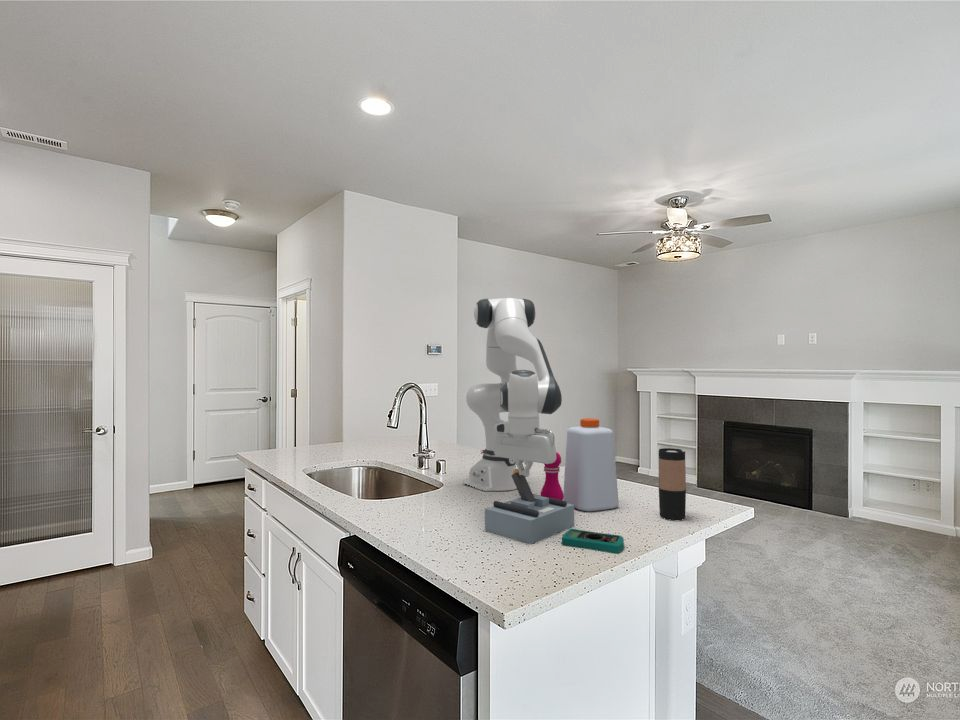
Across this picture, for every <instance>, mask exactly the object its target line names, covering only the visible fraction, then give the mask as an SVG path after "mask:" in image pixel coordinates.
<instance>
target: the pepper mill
mask: <svg viewBox="0 0 960 720" xmlns="http://www.w3.org/2000/svg"><path fill="white" fill-rule="evenodd" d="M561 463H562V456H561V455H560V453H558V452H557V451H556V460H555V462H554V463H551V464H543V465H544V466H543V472H545V478H544V479H545V480H544V483H543V485H542V488H541V491H540V496H544V497H549V498H554V499H559V500H563V497H564V496H563V492H564V490H563V488H562V486H561V484H560V480H559V473H560V472H561V470H560V468H561V467H560V465H561ZM563 501H564V500H563Z"/></svg>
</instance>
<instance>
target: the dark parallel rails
mask: <svg viewBox="0 0 960 720" xmlns="http://www.w3.org/2000/svg"><path fill="white" fill-rule="evenodd" d="M532 494H533V495H537V496H541V494H540V495H539V494H534V493H532ZM542 497H544V496H542ZM547 498H549V497H547ZM549 503H550V504H554V505H559V506H563V507H565V506H566V505H567V502H566V501H564V500H559V499H554V498H549ZM492 506H495V507H498V508H502V509H506V510H510V511H514V512H518V513H522V514H526V515H530V516H534V517H538V516H539V512H538V511H536V510H532V509H528V508H524V507H520V506H515V505H511V504H507V503H505V502H502V501H497V500H494V501H493V503H492Z"/></svg>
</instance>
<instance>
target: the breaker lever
mask: <svg viewBox="0 0 960 720" xmlns="http://www.w3.org/2000/svg"><path fill="white" fill-rule="evenodd" d="M511 476H512V478H513V481H514V483H515V485H516V488H517V489H516V490H517V492H518V494H519V498H521V499H522V500H524V501H529V502H533V503H534V505H535V503H536V502H535V501H536V500H535V498H534V496H533V494H534V493H533V491H532V489H531V487H530V485H529V482H528V480H527V477H524V476H519V470H518V468H516V469H515V470H514V471H513V475H511Z"/></svg>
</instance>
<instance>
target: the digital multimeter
mask: <svg viewBox="0 0 960 720" xmlns="http://www.w3.org/2000/svg"><path fill="white" fill-rule="evenodd" d="M624 542H625V541H624V536H622V535H618V534H612V533H611V534H610V533H603V532H597V531H596V532H595V531H588V530H583V529H578V528H577V529H576V528H568V529H567V531H565V532H564V533H563V535H562V536H561V545H562V546H566V547H573V548H574V547H575V548H580V549H588V550H593V551H600V552H605V551H606V552H607V553H612V554H620V552H622V551H623V550H624V547H625V545H624V544H625V543H624ZM606 552H605V553H606Z"/></svg>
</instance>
